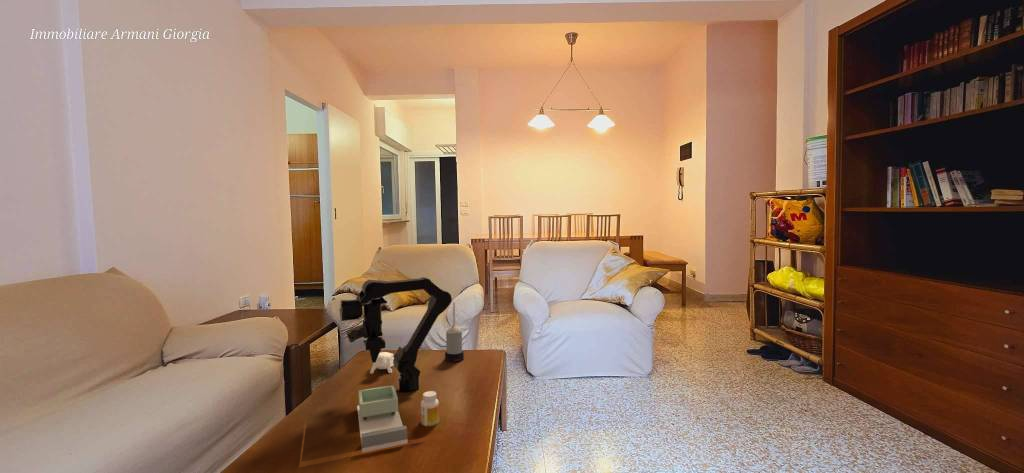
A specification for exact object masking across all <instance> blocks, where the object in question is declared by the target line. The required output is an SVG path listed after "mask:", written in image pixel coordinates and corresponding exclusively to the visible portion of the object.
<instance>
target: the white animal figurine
mask: <svg viewBox="0 0 1024 473" xmlns="http://www.w3.org/2000/svg"><path fill="white" fill-rule="evenodd" d="M394 355H395V354H394V353H391V352H387V351H380V353H379V355H378V358H377V360H376V362H375V363H372V367H371V368H370V371H369V374H370V375H373V374H375V371H376V370H377V369H379V370H387V373H389V374H392V373H393V369H392V368H391V367H394V364H393V359H394V357H393V356H394Z"/></svg>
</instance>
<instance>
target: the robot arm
mask: <svg viewBox="0 0 1024 473" xmlns="http://www.w3.org/2000/svg"><path fill="white" fill-rule="evenodd" d="M420 290H423V291H424V293H426V294H428V295H429V296H430V297H429V300H428V303H427V308H426V311H425V312H424V314H423V316H422V318H421V320H420V322H419V323H418V325H417V326H416V328H415V330H414V331H413V333H412V335H411V337H410V339H409V340H408V342H407V344H406V345H405V346H403V347H401V346H399V347H398V348H397V349H396V352H395V354H394V356H393V357H394V359H393V364H394V365H393V367H394V368H395V370H396V371H398V373H399V378H398V379H397V383H398V384H397V386H398V387H397V390H398V392H399V393H413V392H415V391H417V390H420V382H419V381H420V375H421V370H420V369H419V368H418V367H417V366H416V365H415V364H416V362H417V358H418V354H419V353H418V352H419V350H420V348H421V347H422V345H423V343H424V341H425V340H426V338H427V336H428V335H429V332H430V331H431V329H432V328H433V326H434V324H435V322H436V321H437V318H438V317H439V316H440V315H441V314H443V313H444V312H445V311H446V310H447V308H448V307H449V306H451V304H452V300H453V298H452V295H451V293H450V292H448V291H446V290H444V289H442V288H440V287H438V286H437V285H436V284H435V283H434V282H433V281H432V280H431V279H429V278H428V277H419V278H411V279H410V278H409V279H400V280H391V281H387V280H380V279H367V280H365V281H364V282H363V284H362V286H361V291H360V292H359V293H358V295H357V296H356V298H354V299H342V300H340V306H339V310H338V311H339V319H340V322H347V321H355V320H360V318H362V317H363V320H362V324H360V325H357V326H355V327H352V328H350V329H348V330H347V331H346V332H345V334H346V336H347V338H348V340H349V343H354V342H355V341H357V340H359V339H362V338H363V339H365V340H363V343H364V344H363V345H364V349H365V351H369V354H370V358H371V362H372V364H373V363H375V362H376V360H377V358H378V355H379V353H381V350H382V349H385V348H386V340H385V338H383V335H384V334H383V328H382V327H383V326H382V325H383V320H382V305H384V304H388V300H386V299H385V298H384V297H385V296H388V295H391V294H395V293H396V294H397V293H403V292H404V293H405V292H412V291H420Z"/></svg>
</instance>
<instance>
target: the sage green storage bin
mask: <svg viewBox="0 0 1024 473" xmlns="http://www.w3.org/2000/svg"><path fill="white" fill-rule="evenodd" d="M358 405H359V408H360V416H361V417H363V420H366V419H367V416H373V415H378V414H384V413H390V412H391V414H392V415H394V414H395V411H398V412H399V398H398V394H397V391H396V389H395V385H394V384H392V385H391V384H390V385H387V386H386V385H385V386H379V387H372V388H366V389H360V390H358Z"/></svg>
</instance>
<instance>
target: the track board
mask: <svg viewBox="0 0 1024 473" xmlns="http://www.w3.org/2000/svg"><path fill="white" fill-rule="evenodd" d="M356 410H357V415H358V416H357V417H358V427H359V436H360V444H361V453H362V454H363V453H368V452H372V451H377V450H381V449H387V448H391V447H396V446H402V445H406V444H408V428H407V425H403V422H402V419H401V416H400V412H399V410H398V411H395V414H394V415H392V414H391V412H390V413H384V414H378V415H373V416H367V419H366V420H363V417H361V416H360V408H359V404H358V405H357V406H356Z"/></svg>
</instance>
